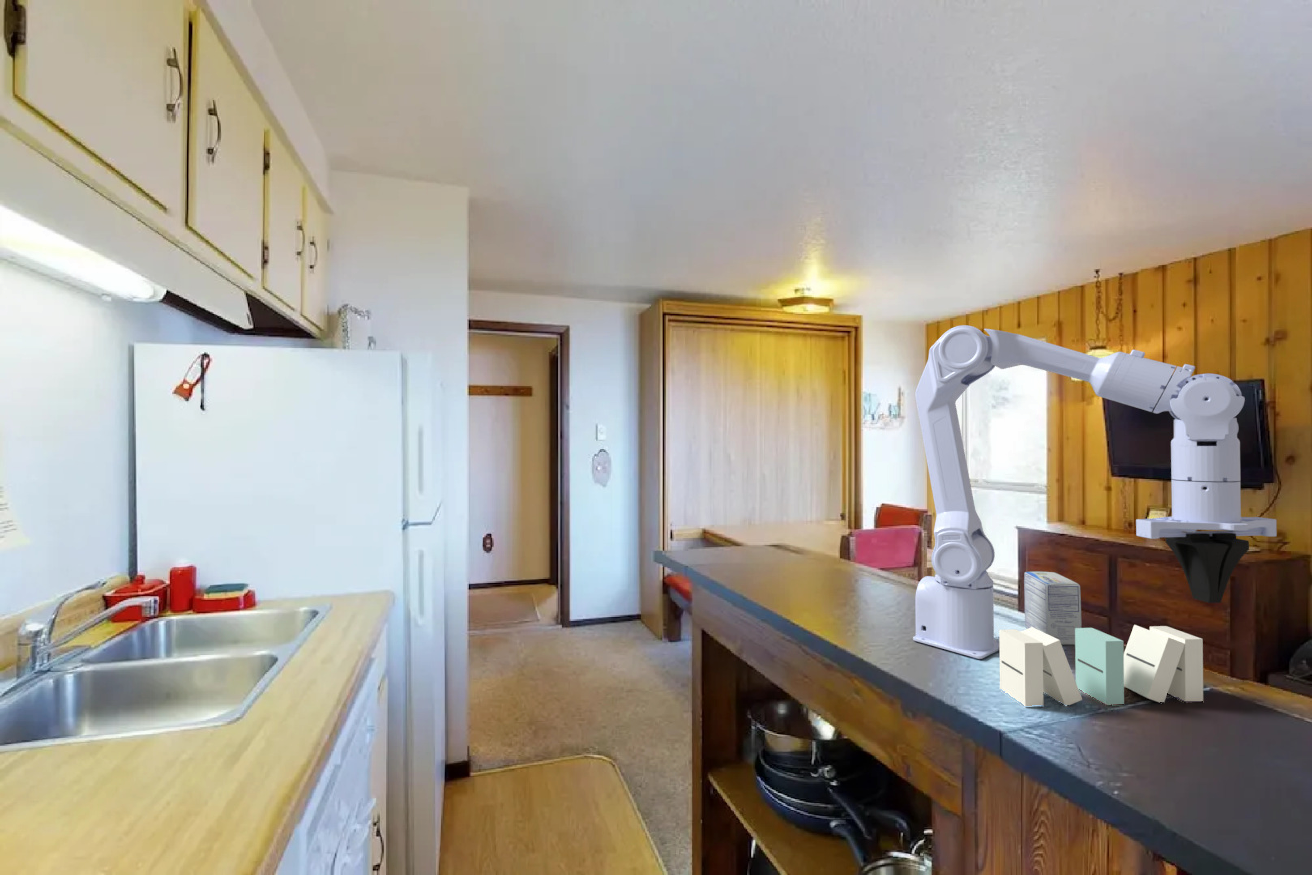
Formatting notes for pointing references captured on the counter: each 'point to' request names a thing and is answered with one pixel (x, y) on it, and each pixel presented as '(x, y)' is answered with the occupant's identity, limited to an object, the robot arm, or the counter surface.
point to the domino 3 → (1099, 665)
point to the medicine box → (1052, 605)
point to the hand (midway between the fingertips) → (1206, 600)
